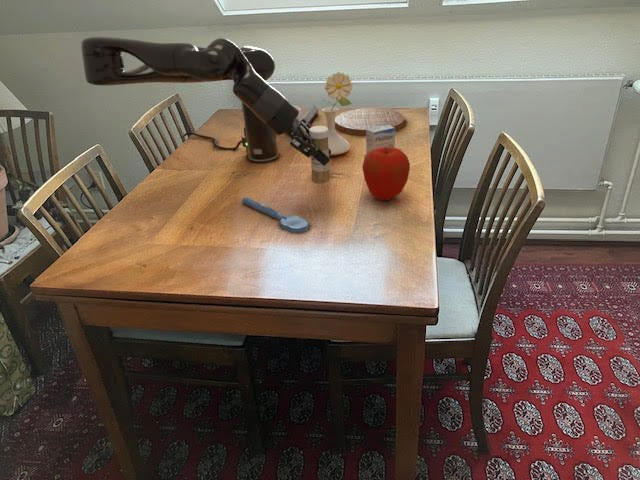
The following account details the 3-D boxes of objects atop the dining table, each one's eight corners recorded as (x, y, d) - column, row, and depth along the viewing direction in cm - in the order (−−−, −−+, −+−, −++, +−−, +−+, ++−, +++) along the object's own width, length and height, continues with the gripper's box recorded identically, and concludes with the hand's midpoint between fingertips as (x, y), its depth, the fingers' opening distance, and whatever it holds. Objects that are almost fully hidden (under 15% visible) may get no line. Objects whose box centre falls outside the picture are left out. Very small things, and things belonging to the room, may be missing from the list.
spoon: (236, 206, 138) (235, 199, 137) (251, 199, 141) (250, 193, 140) (296, 235, 123) (296, 228, 122) (312, 227, 126) (312, 220, 125)
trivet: (408, 133, 179) (408, 128, 178) (335, 136, 180) (335, 131, 179) (400, 111, 200) (400, 106, 200) (334, 114, 201) (334, 109, 200)
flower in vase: (308, 156, 165) (303, 75, 152) (322, 144, 174) (318, 66, 161) (348, 161, 161) (345, 77, 148) (359, 147, 170) (358, 68, 157)
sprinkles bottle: (307, 181, 130) (304, 129, 123) (319, 175, 133) (317, 123, 126) (322, 186, 127) (319, 132, 121) (333, 179, 130) (332, 127, 123)
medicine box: (373, 160, 160) (373, 132, 156) (365, 155, 164) (365, 128, 159) (395, 154, 163) (395, 127, 159) (387, 150, 166) (387, 123, 162)
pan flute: (302, 136, 182) (318, 114, 203) (301, 126, 180) (318, 105, 201) (234, 134, 188) (257, 112, 208) (233, 125, 186) (256, 104, 207)
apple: (396, 211, 130) (397, 158, 123) (354, 202, 136) (353, 150, 129) (416, 192, 139) (418, 141, 132) (375, 184, 145) (375, 135, 138)
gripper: (269, 112, 130) (320, 158, 135) (258, 131, 118) (314, 181, 123) (289, 90, 127) (340, 138, 132) (279, 107, 114) (336, 159, 119)
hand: (327, 158), depth 127 cm, fingers closed on sprinkles bottle, 4 cm apart
